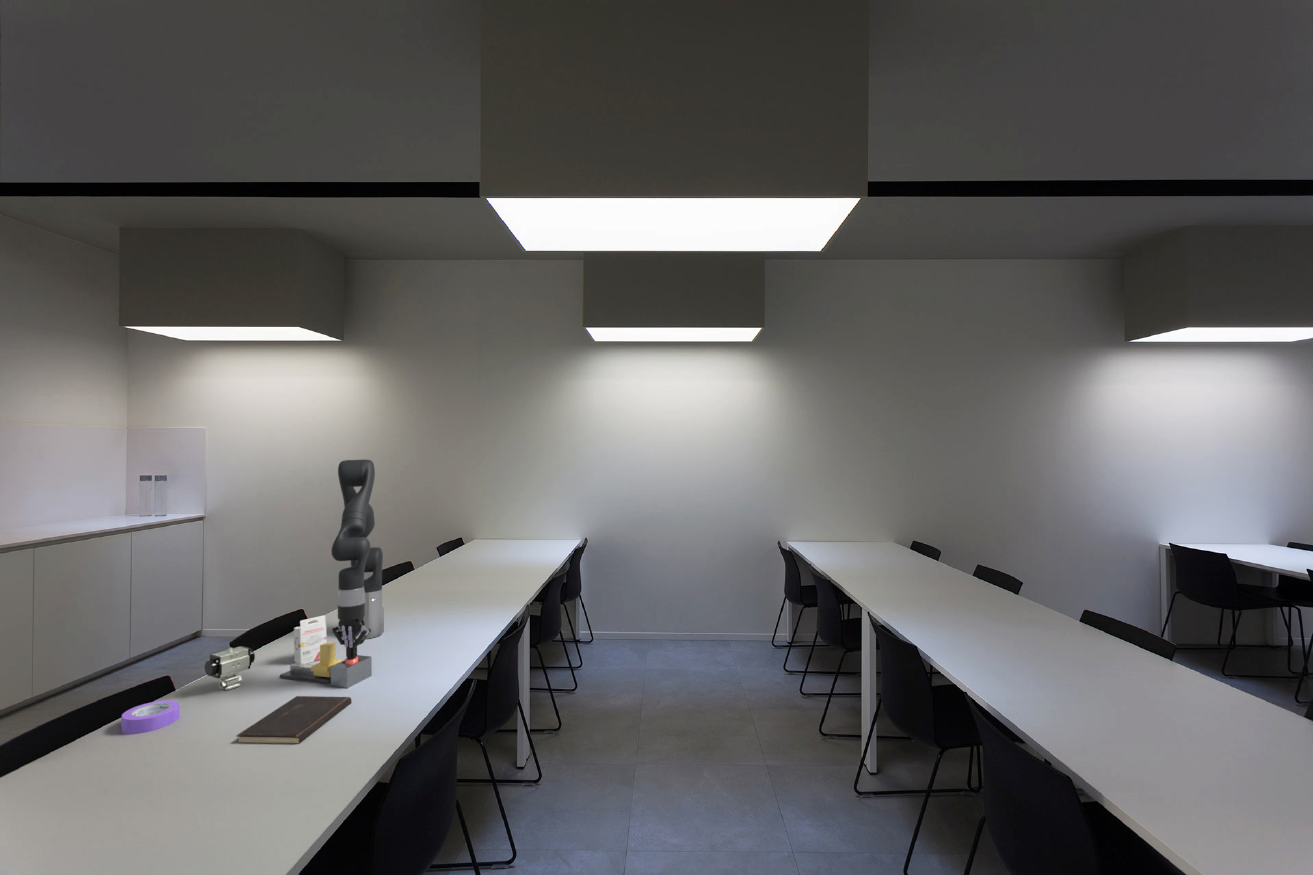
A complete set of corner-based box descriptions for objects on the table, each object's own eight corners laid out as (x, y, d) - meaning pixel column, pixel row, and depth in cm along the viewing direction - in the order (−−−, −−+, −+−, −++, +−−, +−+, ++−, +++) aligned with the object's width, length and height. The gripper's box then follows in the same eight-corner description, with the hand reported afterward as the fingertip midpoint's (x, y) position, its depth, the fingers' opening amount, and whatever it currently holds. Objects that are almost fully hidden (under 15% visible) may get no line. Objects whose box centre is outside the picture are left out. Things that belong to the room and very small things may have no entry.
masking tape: (186, 710, 167) (186, 697, 167) (169, 729, 156) (169, 714, 156) (133, 718, 163) (133, 703, 163) (112, 737, 152) (112, 722, 152)
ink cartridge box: (320, 655, 210) (320, 612, 210) (327, 658, 207) (326, 614, 207) (293, 662, 203) (293, 618, 203) (300, 665, 200) (299, 620, 200)
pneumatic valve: (204, 693, 178) (204, 652, 178) (246, 679, 188) (246, 640, 188) (214, 697, 175) (214, 655, 175) (256, 682, 186) (256, 643, 186)
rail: (301, 668, 197) (301, 659, 197) (349, 674, 192) (349, 664, 192) (280, 677, 189) (279, 668, 189) (329, 684, 184) (329, 674, 184)
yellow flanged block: (328, 668, 193) (328, 639, 193) (344, 670, 192) (344, 641, 192) (310, 676, 187) (310, 646, 187) (326, 678, 185) (326, 648, 185)
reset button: (351, 671, 189) (351, 655, 189) (360, 673, 188) (360, 656, 188) (342, 676, 185) (342, 659, 186) (352, 677, 184) (352, 661, 185)
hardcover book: (236, 744, 149) (236, 735, 149) (296, 704, 172) (296, 695, 172) (299, 745, 148) (299, 736, 148) (351, 704, 171) (351, 696, 171)
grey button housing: (355, 673, 192) (355, 654, 192) (371, 675, 191) (371, 656, 191) (330, 686, 183) (330, 666, 183) (347, 688, 181) (347, 668, 181)
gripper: (378, 600, 189) (378, 656, 188) (343, 597, 192) (343, 652, 192) (360, 606, 181) (360, 664, 181) (324, 603, 185) (324, 660, 185)
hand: (351, 658), depth 187 cm, fingers closed
